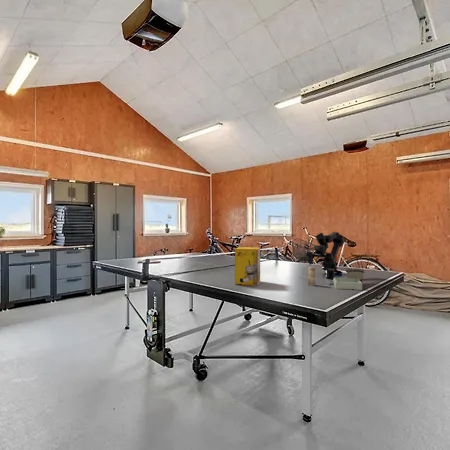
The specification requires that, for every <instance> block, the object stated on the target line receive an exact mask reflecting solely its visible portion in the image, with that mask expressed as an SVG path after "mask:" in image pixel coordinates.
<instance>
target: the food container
mask: <svg viewBox="0 0 450 450" xmlns="http://www.w3.org/2000/svg"><path fill="white" fill-rule="evenodd" d="M345 273H346V277H347V278H354V279H359V280H360V281H361V282H362V284H363V282H364V274H365V271H364V269H361V268H347V269H346V270H345Z"/></svg>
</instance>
